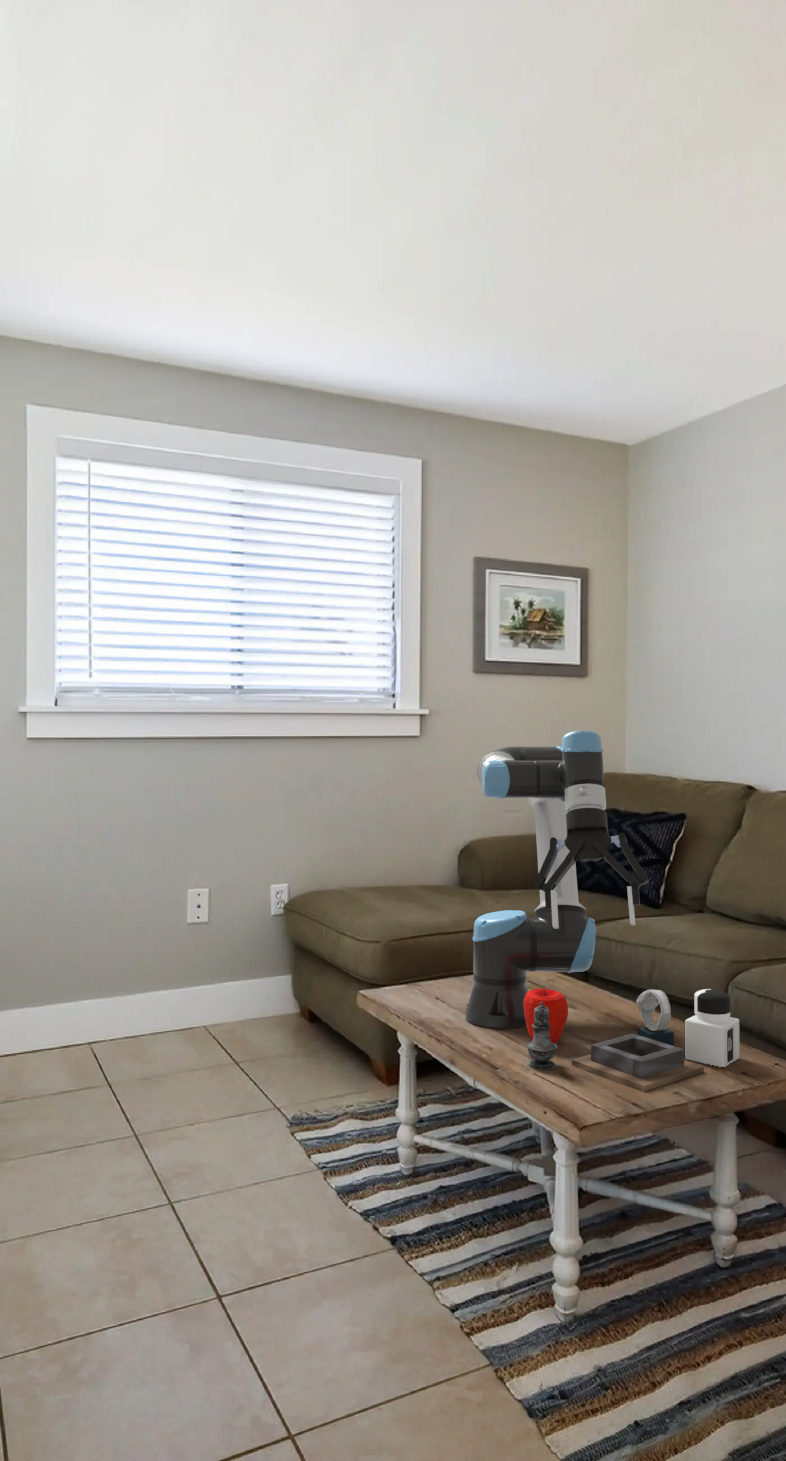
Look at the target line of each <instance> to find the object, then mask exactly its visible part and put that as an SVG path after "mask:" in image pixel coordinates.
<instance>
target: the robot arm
mask: <svg viewBox="0 0 786 1461" xmlns="http://www.w3.org/2000/svg"><path fill="white" fill-rule="evenodd" d="M601 739H602V738H601V736H600V735H599V734H598V733H597V732H595V731H592V730H574V731H573V730H572V731H571V732H567V733H565V734H564V736H563V737H562V739H561V746H558V745H554V746H506V747H502V748H498V749H495V750H492V751H490V752H488V753H486V754H485V755H484V756H483V757H481V759H480V760H479V762H478V764H477V768H476V771H477V772H476V773H477V778H478V780H479V783H480V784H481V785H482V792H483V795H484V797H486V798H493V799H494V798H495V799H522V798H523V799H525V798H526V800H527V803H528V804H529V806H530V807H532V808H534V822H535V839H536V840H535V841H536V853H537V854H536V855H537V871H538V872H537V873H538V874H537V876H536V879H535V881H534V884H533V885H534V887H535V888H536V890H538V891H539V902H540V903H539V905H538V906H537V907H536V908H535V909H534V911H533V917H528V916H527V913H526V912H525V911H524V910H512V909H510V910H509V909H507V910H499V911H493V912H489V913H488V912H487V913H485V914H482V915H480V916H478V917H477V918H476V920H474V923H473V924H474V925H473V936H472V941H473V983H472V987H471V991H470V994H469V999H468V1001H467V1003H466V1006H465V1019H466V1021H467V1022H469V1023H471V1024H472V1025H477V1026H478V1027H479V1026H480V1027H485V1028H486V1027H487V1028H493V1029H515V1028H521V1027H527V1026H526V1020H525V1014H524V1006H523V1003H524V998H525V995H526V993H527V992H529V989H528V986H527V973H529V972H534V973H537V972H538V973H568V974H570V973H576V972H579V973H581V972H585V971H588V970H589V969H590V967H591V966H592V963H593V960H594V954H595V946H596V932H597V930H596V929H597V928H596V921H595V919H594V918H592V917H591V916H590V917H588V916H587V909H586V907H584V905H583V904H581V903H580V902H579V893H578V892H579V891H578V890H579V888H578V878H577V866H576V862H577V861H579V862H581V863H587V862H590V861H591V862H599V861H601V860H602V859H604V861H606V863H607V864H609V865H610V866H611V868H613V869H614V870H615V871H616V872H617V874H619V876H621V877H622V878H623V879H624V881H626V882H627V883H628V884H629V886H627V885H626V889H627V900H628V903H627V904H628V914H629V915H628V916H629V924H630V926H636V916H635V907H636V906H640V905H641V904H640V903H641V899H640V887H642V886H644V885H648V883H649V877H648V876H647V875H648V874H646V872H645V870H644V869H643V867H642V866H641V864H640V862H639V861H638V860H637V858H636V856H635V855H634V853H633V851H632V850H631V848H630V847H629V845H628V840H627V837H626V834H625V833H624V832H619V834H618V835H612V836H611V835H610V834H609V825H608V813H607V812H606V809H607V798H606V797H607V796H606V788H605V774H604V761H603V758H604V757H603V752H604V749H603V747H602V741H601ZM612 844H614V845H615V846H616V847H617V848H621V850H622V852H623V854H624V856H625V857H626V859H627V860H628V862H629V864H630V865H631V867H632V869H633V870H634V872H635V873H636V876H637V878H636V877H634V876H633V875H632V874H631V872H629V871H628V870H627V869H626V868H625V867H624V866H623V865H622V864H621V863H620V862H619V861H618V860H617V859H616V858H615V857H614V856H613V855H612V853H610V852H609V849H610V847H611V845H612Z"/></svg>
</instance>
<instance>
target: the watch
mask: <svg viewBox="0 0 786 1461" xmlns="http://www.w3.org/2000/svg"><path fill="white" fill-rule="evenodd" d="M635 1002H636V1004H637V1007H638V1012H639V1013H640V1015H641V1018H642V1022H643V1024H644V1025H645V1027H637V1035H640V1036H643V1037H646V1038H649V1039H652V1040H656V1041H659V1042H662V1043H665V1044H669V1045H672V1046H675V1034H674V1033H675V1032H674V1031H673V1030H671V1029H669V1028H668V1027H669V1025H670V1022H671V1018H672V1014H671V1013H672V1012H671V1011H672V1010H671V1004H670V1000H669V998H668V996H667V995H666V993H665V992H664V991H663V990H660V989H654V988H653V989H647V990H645V991H643V992H642V993H640V995H638V997H637V999H636V1001H635ZM658 1006H660V1014H659V1016H658V1021H657V1023H655V1020H654V1017H653V1013H654V1012H655V1010H656V1008H657V1007H658Z"/></svg>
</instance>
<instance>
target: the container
mask: <svg viewBox="0 0 786 1461" xmlns="http://www.w3.org/2000/svg"><path fill="white" fill-rule="evenodd" d="M693 1011H694V1012H693V1013H694V1014H695V1015H692V1016H691V1017H689V1018H687V1019H685V1021H684V1023H685V1024H684V1030H685V1031H684V1033H685V1034H684V1036H685V1037H684V1038H685V1039H684V1043H685V1045H684V1046H685V1047H684V1059H686V1061H691V1062H694V1063H695V1062H696V1063H699V1064H700V1063H701V1064H704V1065H708V1064H709V1065H708V1066H712V1065H714V1066H713V1067H716V1066H718V1067H717V1068H721V1067H724V1068H726V1067H727V1066H729V1065H731V1064H732V1063H733V1062H735V1061H737V1060H738V1059H740V1019H739V1018H736V1017H731V996H730V995H729V994H728V993H726V992H725V991H722V990H719V989H714V988H705V989H704V988H703V989H700V990H697V991H696V992H695V993H694V1010H693ZM730 1063H731V1064H730Z"/></svg>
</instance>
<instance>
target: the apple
mask: <svg viewBox="0 0 786 1461" xmlns="http://www.w3.org/2000/svg"><path fill="white" fill-rule="evenodd" d="M541 1001H542V1002H543V1006H545V1007H547V1008H548V1010H549V1024H550V1025H551V1028H549V1036H550V1041H551V1042H552V1043H554V1044H557V1043H558V1041H560V1038H561V1036H562V1033H563V1031H564V1029H565V1026H566V1025H567V1024H566V1023H567V1021H568V1016H569V1004H568V1001H567V999H566V997H565V995H564V994H563V993H561V992H560V991H557V990H556V989H548V988H533V989H530V990H528V992H527V993H526V995H525V998H524V1003H523V1006H524V1014H525V1020H526V1026H525V1027H526V1029H527V1033H528V1035H529V1038H530V1040H531V1042H532V1041H533V1037H534V1027H532V1025H533V1024H534V1009H535V1008H536V1007H537V1006H539V1005H540V1002H541Z"/></svg>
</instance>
